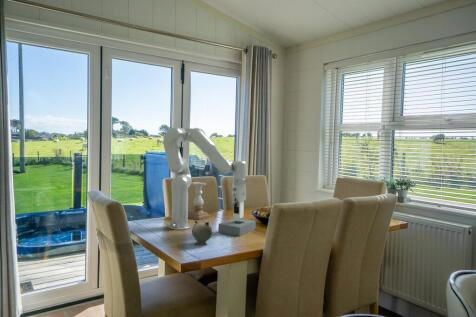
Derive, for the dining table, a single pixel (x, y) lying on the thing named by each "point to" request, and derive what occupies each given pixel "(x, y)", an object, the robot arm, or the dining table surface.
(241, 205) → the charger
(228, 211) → the dining table surface
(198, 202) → the candle holder
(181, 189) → the robot arm
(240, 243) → the dining table surface
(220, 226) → the grey flat block
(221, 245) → the dining table surface
